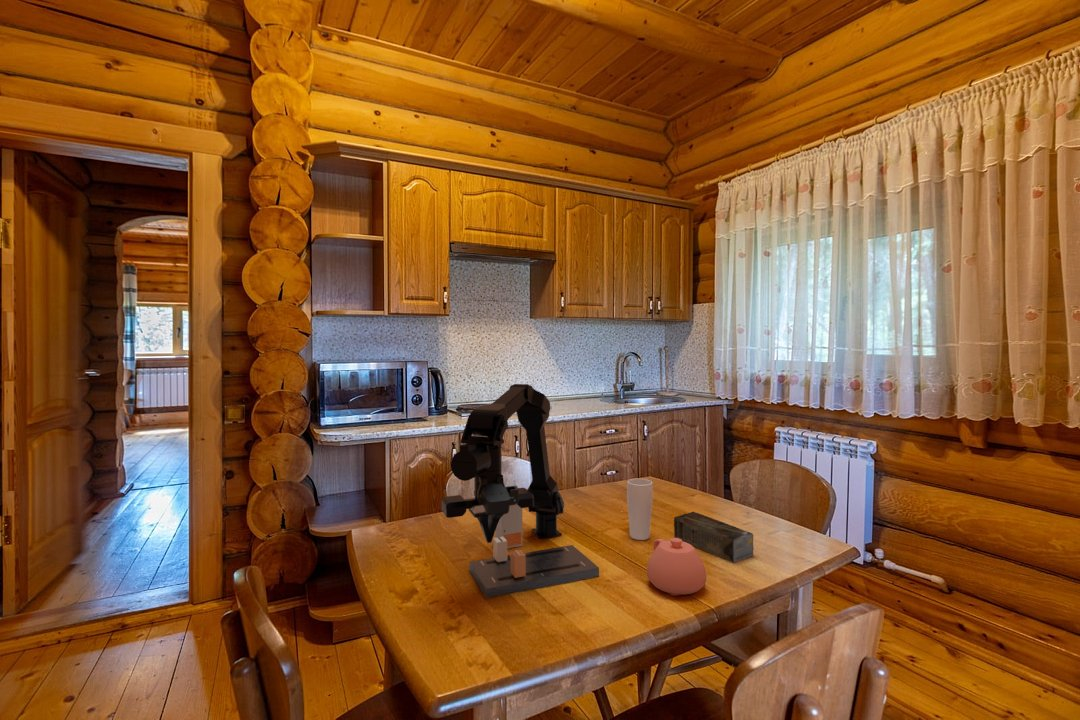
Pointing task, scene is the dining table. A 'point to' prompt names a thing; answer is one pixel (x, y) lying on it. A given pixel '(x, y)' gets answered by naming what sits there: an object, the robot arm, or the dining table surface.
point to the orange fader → (518, 563)
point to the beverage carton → (714, 536)
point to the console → (533, 571)
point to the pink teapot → (676, 567)
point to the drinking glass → (639, 507)
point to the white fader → (500, 549)
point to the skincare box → (511, 527)
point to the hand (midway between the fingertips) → (488, 542)
